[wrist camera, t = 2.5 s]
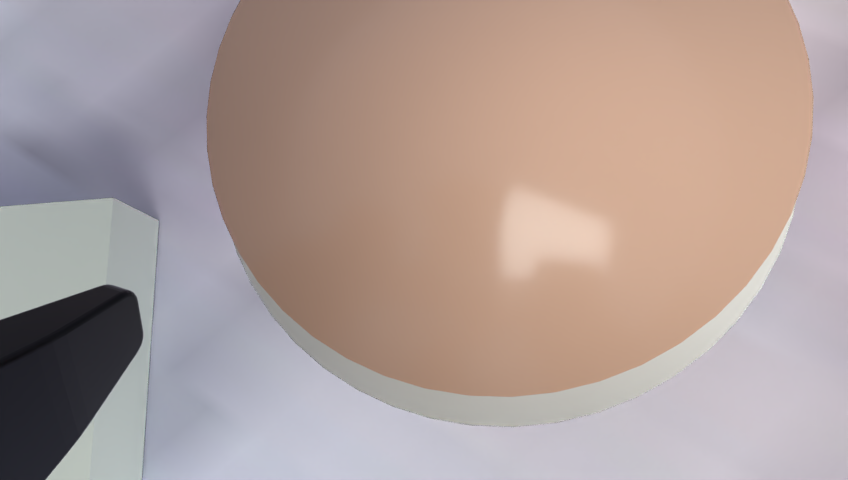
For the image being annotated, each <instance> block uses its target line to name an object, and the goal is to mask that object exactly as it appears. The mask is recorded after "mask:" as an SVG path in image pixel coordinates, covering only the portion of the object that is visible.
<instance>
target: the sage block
mask: <svg viewBox="0 0 848 480" xmlns="http://www.w3.org/2000/svg"><path fill="white" fill-rule="evenodd" d="M158 229H159V220H157V219H155V218H153V217H151V216H149V215H147V214H145V213H143V212H141V211H139V210H137V209H135V208H133V207H131V206H129V205H127V204H125V203H123V202H121V201H119V200H117V199H115V198H103V199H90V200H77V201H65V202H52V203H40V204H27V205H14V206H2V207H0V320H1V319H4V318H7V317H10V316H13V315H16V314H19V313H22V312H25V311H28V310H31V309H34V308H36V307H39V306H42V305H45V304H48V303H51V302H54V301H57V300H60V299H63V298H66V297H69V296H72V295H75V294H78V293H81V292H84V291H87V290H90V289H93V288H95V287H98V286H102V285H107V284H109V285H115V286H118V287H121V288H124V289H127V290H131V291H132V292H134V294H135V295H136V296H137V299H138V304H139V310H140V315H141V321H142V327H143V334H144V335H143V341H142V345H141V347H140V349H139V351H138V352H137V354H136V355H135V357H134V358H133V360H132V361H131V363H130V364H129V366H128V367H127V369H126V370H125V372H124V373H123V375H122V376H121V378H120V379H119V381H118V382H117V384H116V385H115V387H114V388H113V390H112V391H111V393H110V394H109V396H108V397H107V399H106V400H105V402H104V403H103V405H102V406H101V408H100V409H99V411H98V412H97V414H96V415H95V417H94V418H93V420H92V421H91V423H90V424H89V425H88V427H87V428H86V430H85V431H84V432H83V434H82V435H81V437H80V438H79V439H78V440H77V442H76V443H75V444H74V446H73V447H72V448H71V449H70V451H69V452H68V453H67V454H66V456H65V457H64V458H63V459H62V460H61V462H60V463H59V464H58V465H57V467H56V468H55V469H54V470H53V471H52V473H51V474H50V475H49V476H48V477H47V479H46V480H142V469H143V454H144V439H145V424H146V409H147V394H148V379H149V364H150V349H151V334H152V319H153V304H154V289H155V274H156V259H157V244H158Z"/></svg>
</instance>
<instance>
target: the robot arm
mask: <svg viewBox="0 0 848 480" xmlns="http://www.w3.org/2000/svg"><path fill="white" fill-rule="evenodd" d="M143 335H144V334H143V327H142V321H141V315H140V310H139V304H138V299H137V296H136V295H135V294H134V292H132V291H131V290H127V289H124V288H121V287H118V286H115V285H109V284H107V285H102V286H98V287H95V288H93V289H90V290H87V291H84V292H81V293H78V294H75V295H72V296H69V297H66V298H63V299H60V300H57V301H54V302H51V303H48V304H45V305H42V306H39V307H36V308H34V309H31V310H28V311H25V312H22V313H19V314H16V315H13V316H10V317H7V318H4V319H1V320H0V480H46V479H47V477H48V476H49V475H50V474H51V473H52V471H53V470H54V469H55V468H56V467H57V465H58V464H59V463H60V462H61V460H62V459H63V458H64V457H65V456H66V454H67V453H68V452H69V451H70V449H71V448H72V447H73V446H74V444H75V443H76V442H77V440H78V439H79V438H80V437H81V435H82V434H83V432H84V431H85V430H86V428H87V427H88V425H89V424H90V423H91V421H92V420H93V418H94V417H95V415H96V414H97V412H98V411H99V409H100V408H101V406H102V405H103V403H104V402H105V400H106V399H107V397H108V396H109V394H110V393H111V391H112V390H113V388H114V387H115V385H116V384H117V382H118V381H119V379H120V378H121V376H122V375H123V373H124V372H125V370H126V369H127V367H128V366H129V364H130V363H131V361H132V360H133V358H134V357H135V355H136V354H137V352H138V351H139V349H140V347H141V345H142V341H143Z"/></svg>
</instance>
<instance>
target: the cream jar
mask: <svg viewBox="0 0 848 480" xmlns="http://www.w3.org/2000/svg"><path fill="white" fill-rule="evenodd" d="M812 124H813V91H812V82H811V74H810V66H809V59H808V55H807V51H806V48H805V44H804V41H803V37H802V34H801V30H800V26H799V23H798V21H797V18H796V16H795V14H794V12H793V9H792V7H791V5H790V3H789V1H788V0H240V2H239V4H238V6H237V8H236V10H235V11H234V13H233V15H232V17H231V19H230V22H229V24H228V27H227V30H226V32H225V35H224V37H223V40H222V42H221V45H220V47H219V51H218V55H217V59H216V62H215V66H214V70H213V74H212V78H211V83H210V91H209V100H208V108H207V152H208V158H209V165H210V171H211V178H212V184H213V188H214V191H215V194H216V198H217V201H218V204H219V207H220V211H221V214H222V217H223V220H224V222H225V224H226V226H227V229H228V231H229V233H230V235H231V237H232V239H233V242H234V245H235V248H236V251H237V254H238V256H239V258H240V261H241V263H242V265H243V267H244V269H245V271H246V274H247V276H248V278H249V280H250V282H251V284H252V286H253V288H254V289H255V291H256V292H257V294H258V295H259V297H260V298H261V300H262V302H263V303H264V305H265V306H266V308H267V309H268V311H269V312H270V314H271V315H272V317H273V318H274V319H275V320H276V321H277V322H278V323H279V325H280V326H281V327H282V328H283V329H284V330H285V332H286V333H287V334H288V335H289V336H290V337H291V339H292V340H293V341H294V342H295V343H296V344H297V345H298V346H299V347H301V348H302V349H303V350H304V351H305V352H306V353H307V354H309V355H310V356H311V357H312V358H313V359H314V360H315V361H317V362H318V363H319V364H320V365H321V366H322V367H323V368H325V369H326V370H328V371H329V372H331V373H332V374H334V375H335V376H337V377H338V378H340V379H342V380H343V381H345V382H346V383H348V384H349V385H351V386H352V387H354V388H355V389H357V390H359V391H361V392H363V393H365V394H367V395H370V396H372V397H374V398H376V399H378V400H380V401H382V402H384V403H386V404H389V405H391V406H393V407H396V408H399V409H403V410H406V411H409V412H412V413H415V414H418V415H421V416H425V417H428V418H431V419H437V420H443V421H448V422H454V423H460V424H466V425H472V426H499V427H519V426H529V425H539V424H549V423H557V422H561V421H566V420H570V419H574V418H578V417H582V416H586V415H591V414H595V413H598V412H601V411H604V410H606V409H609V408H611V407H614V406H616V405H619V404H621V403H624V402H627V401H629V400H632V399H634V398H637V397H639V396H641V395H642V394H644V393H646V392H648V391H650V390H651V389H653V388H655V387H657V386H658V385H660V384H662V383H664V382H666V381H667V380H669V379H671V378H673V377H675V376H676V375H677V374H678V373H680V372H681V371H682V370H684V369H685V368H686V367H688V366H689V365H690V364H692V363H693V362H694V361H696V360H697V359H698V358H700V357H701V356H702V355H703V354H705V353H706V352H707V351H709V350H710V349H711V347H712V346H713V345H714V344H715V343H716V342H717V341H718V340H719V339H720V338H721V337H722V336H723V335H724V334H725V333H726V332H727V331H728V330H729V329H730V328H731V327H732V326H733V325H734V324H735V323H736V322H737V321H738V320H739V318H740V317H741V316H742V314H743V313H744V311H745V310H746V309H747V307H748V306H749V305H750V303H751V302H752V301H753V299H754V298H755V296H756V295H757V294H758V292H759V291H760V290H761V288H762V286H763V284H764V283H765V281H766V279H767V277H768V275H769V273H770V271H771V269H772V267H773V265H774V264H775V262H776V260H777V258H778V256H779V254H780V252H781V249H782V246H783V243H784V240H785V238H786V235H787V232H788V229H789V226H790V223H791V220H792V217H793V214H794V208H795V203H796V199H797V197H798V194H799V191H800V188H801V185H802V182H803V179H804V177H805V172H806V166H807V161H808V156H809V150H810V145H811V140H812Z"/></svg>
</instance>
